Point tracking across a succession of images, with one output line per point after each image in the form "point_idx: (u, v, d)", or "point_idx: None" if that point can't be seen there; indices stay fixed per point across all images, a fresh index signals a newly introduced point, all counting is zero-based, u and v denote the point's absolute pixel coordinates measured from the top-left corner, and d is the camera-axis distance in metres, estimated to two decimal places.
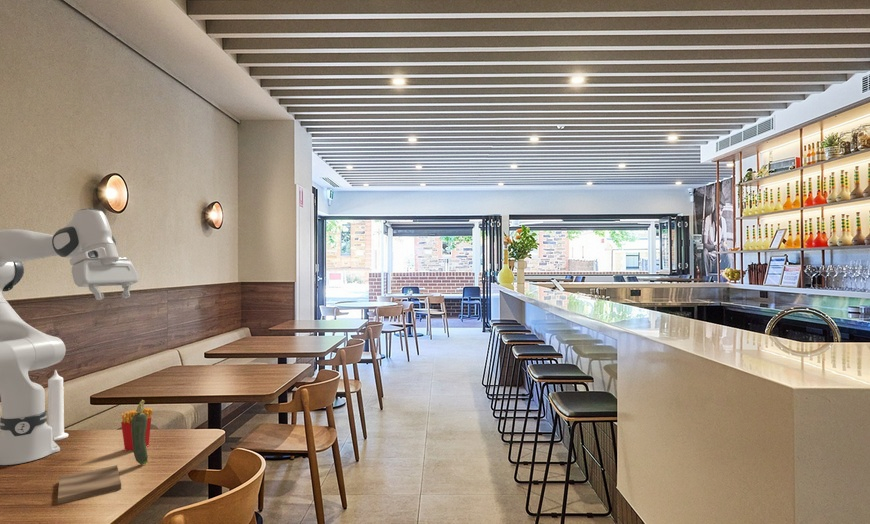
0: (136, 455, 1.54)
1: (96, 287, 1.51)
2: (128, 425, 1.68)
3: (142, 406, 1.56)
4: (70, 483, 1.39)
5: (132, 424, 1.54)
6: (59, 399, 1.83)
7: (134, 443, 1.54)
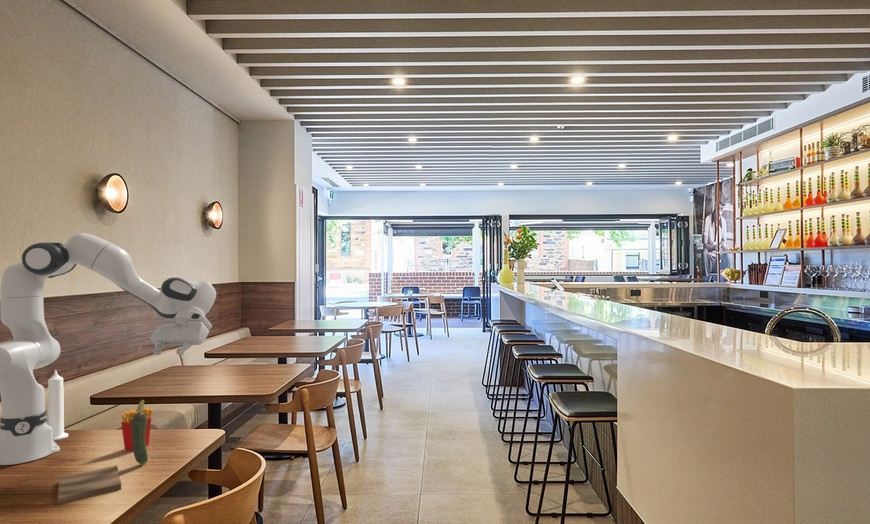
0: (136, 455, 1.54)
1: None
2: (128, 425, 1.68)
3: (142, 406, 1.56)
4: (70, 483, 1.39)
5: (132, 424, 1.54)
6: (59, 399, 1.83)
7: (134, 443, 1.54)
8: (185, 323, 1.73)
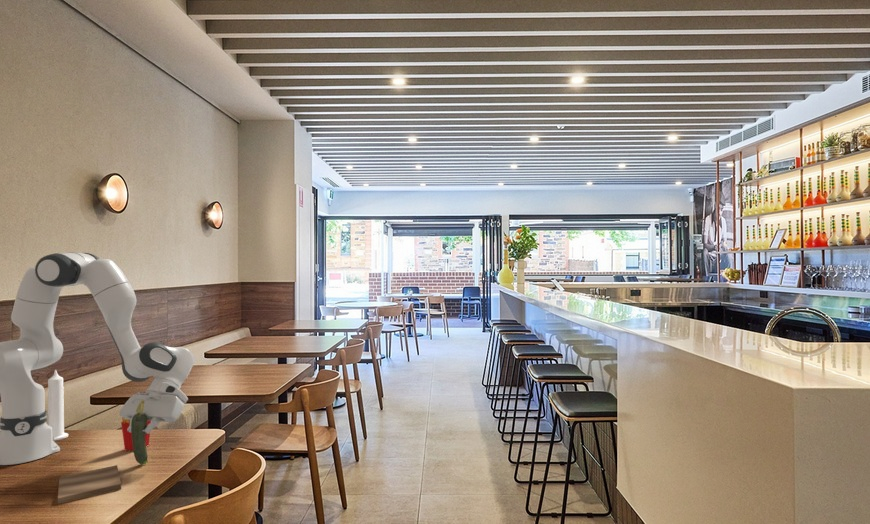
0: (136, 455, 1.54)
1: None
2: (128, 425, 1.68)
3: (142, 406, 1.56)
4: (70, 483, 1.39)
5: (132, 424, 1.54)
6: (59, 399, 1.83)
7: (134, 443, 1.54)
8: (159, 396, 1.61)
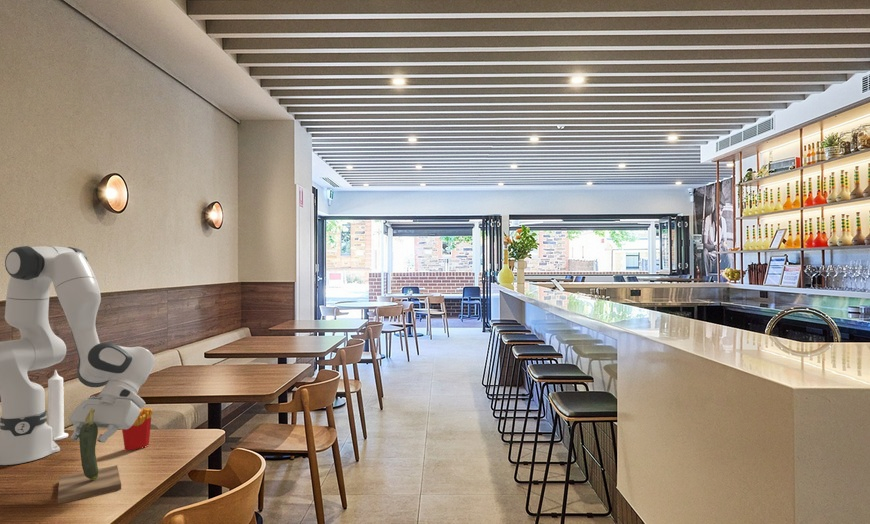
0: (84, 470, 1.39)
1: None
2: None
3: (92, 415, 1.41)
4: (70, 483, 1.39)
5: (80, 435, 1.39)
6: (59, 399, 1.83)
7: (82, 456, 1.39)
8: (112, 401, 1.46)
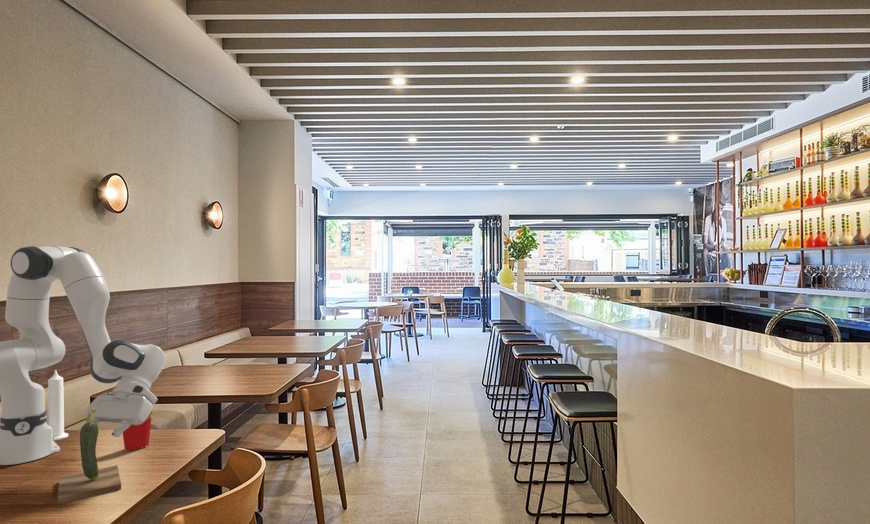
0: (85, 470, 1.39)
1: None
2: None
3: (92, 415, 1.41)
4: (70, 483, 1.39)
5: (80, 435, 1.39)
6: (59, 399, 1.83)
7: (82, 456, 1.39)
8: (125, 397, 1.51)
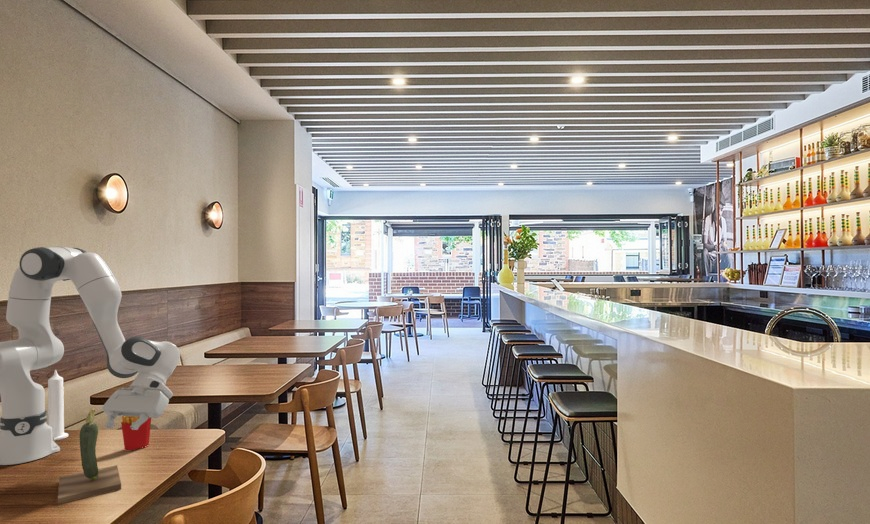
0: (85, 470, 1.39)
1: None
2: (128, 425, 1.68)
3: (92, 415, 1.41)
4: (70, 483, 1.39)
5: (80, 435, 1.39)
6: (59, 399, 1.83)
7: (82, 456, 1.39)
8: (142, 392, 1.57)
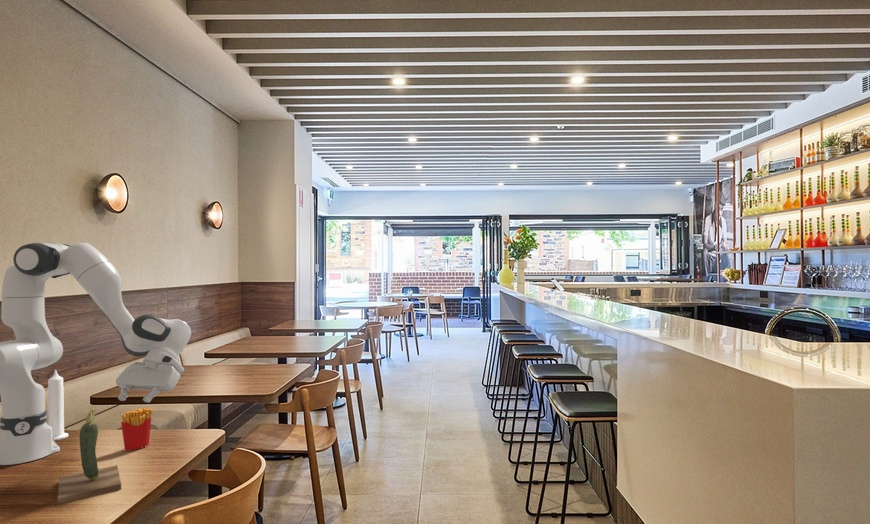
0: (84, 470, 1.39)
1: None
2: (128, 425, 1.68)
3: (92, 415, 1.41)
4: (70, 483, 1.39)
5: (80, 435, 1.39)
6: (59, 399, 1.83)
7: (82, 456, 1.39)
8: (155, 366, 1.61)
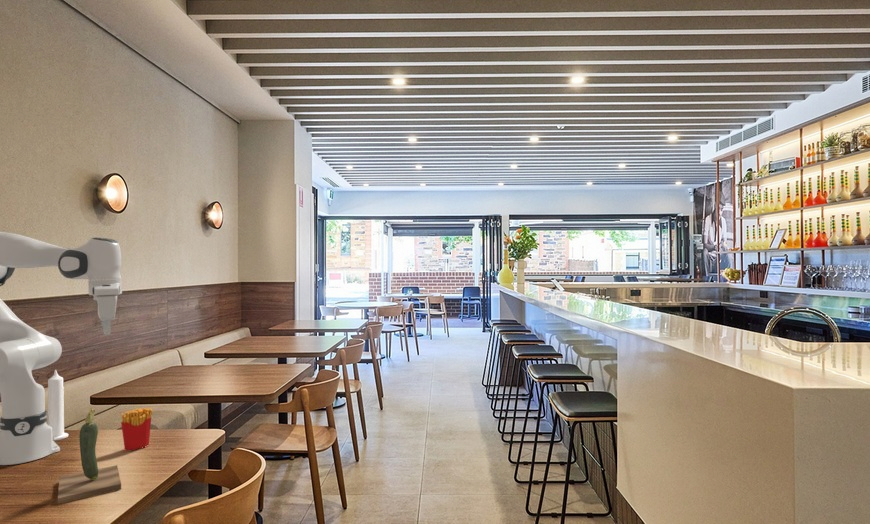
0: (84, 470, 1.39)
1: (110, 323, 1.53)
2: (128, 425, 1.68)
3: (92, 415, 1.41)
4: (70, 483, 1.39)
5: (80, 435, 1.39)
6: (59, 399, 1.83)
7: (82, 456, 1.39)
8: None
